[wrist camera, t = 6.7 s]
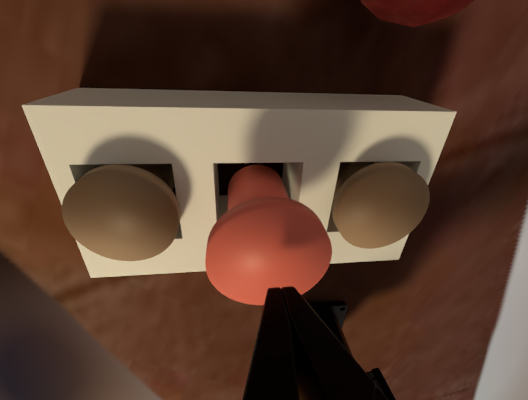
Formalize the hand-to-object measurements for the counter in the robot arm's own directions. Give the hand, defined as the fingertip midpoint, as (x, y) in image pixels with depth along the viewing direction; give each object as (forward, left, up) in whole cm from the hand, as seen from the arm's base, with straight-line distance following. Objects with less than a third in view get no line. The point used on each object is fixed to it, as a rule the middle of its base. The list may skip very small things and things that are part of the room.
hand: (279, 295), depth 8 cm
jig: (0, 0, -10) cm, 10 cm away
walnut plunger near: (0, +6, -10) cm, 12 cm away
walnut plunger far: (0, -6, -10) cm, 12 cm away
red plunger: (0, 0, -7) cm, 7 cm away
